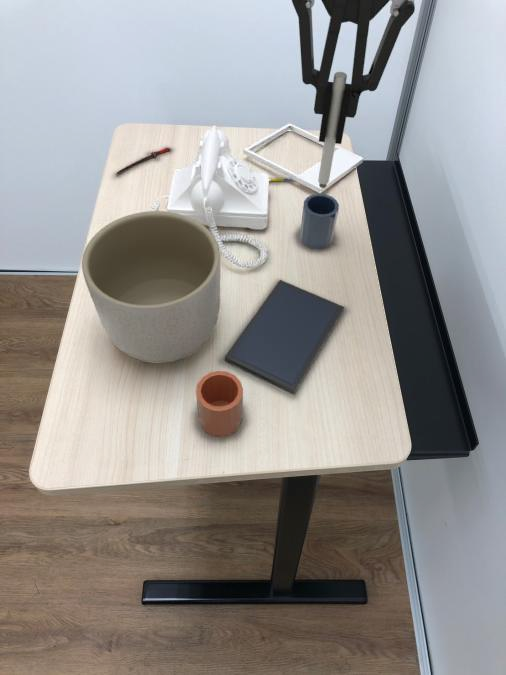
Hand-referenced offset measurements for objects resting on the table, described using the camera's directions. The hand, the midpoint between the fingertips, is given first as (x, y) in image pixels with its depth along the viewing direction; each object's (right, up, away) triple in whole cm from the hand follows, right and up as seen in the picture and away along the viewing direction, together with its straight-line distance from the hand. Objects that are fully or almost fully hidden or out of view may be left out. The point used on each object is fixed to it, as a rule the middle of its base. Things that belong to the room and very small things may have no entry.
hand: (330, 136), depth 70 cm
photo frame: (+7, +4, +30) cm, 31 cm away
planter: (-23, -25, +9) cm, 35 cm away
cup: (-14, -37, +1) cm, 39 cm away
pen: (-6, +3, +30) cm, 30 cm away
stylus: (0, -5, +6) cm, 8 cm away
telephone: (-18, -6, +24) cm, 30 cm away
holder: (+1, -9, +22) cm, 24 cm away
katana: (-33, +8, +33) cm, 48 cm away
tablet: (-5, -26, +9) cm, 28 cm away
